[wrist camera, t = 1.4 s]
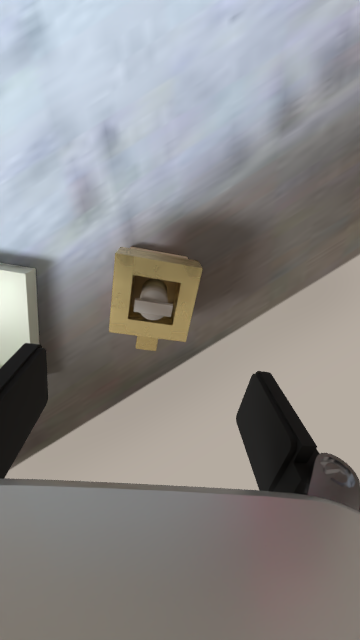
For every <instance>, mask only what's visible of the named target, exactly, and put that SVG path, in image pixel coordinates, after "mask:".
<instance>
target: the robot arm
mask: <svg viewBox="0 0 360 640" xmlns="http://www.w3.org/2000/svg"><path fill="white" fill-rule="evenodd" d="M47 400H48V388H47V363H46V350H45V349H44V348H42V346H41V345H40V344H32V343H25V344H23V345H22V346H21V347H20V348H19V349H18V351H17V352H16V353H15V354H14V355H13V356H12V357H11V358H10V359H9V360H8V361H7V362H6V363H5V364H4V365H3V366H2V367H1V368H0V640H360V482H359V479H358V477H357V475H356V473H355V472H354V471H353V470H352V468H351V467H350V466H349V465H348V464H347V463H345V462H344V461H343V460H341V459H340V458H338V457H336V456H334V455H332V454H328V453H321V454H319V452H318V451H317V449H316V447H317V446H316V444H315V443H314V441H313V439H312V438H311V436H310V435H309V433H308V432H307V430H306V428H305V427H304V425H303V424H302V422H301V420H300V419H299V417H298V416H297V414H296V412H295V411H294V409H293V408H292V406H291V405H290V403H289V401H288V400H287V398H286V397H285V395H284V394H283V392H282V390H281V389H280V387H279V386H278V384H277V382H276V381H275V379H274V378H273V376H272V375H271V373H268V372H261V371H257V372H256V374H253V375H252V377H251V379H250V382H249V385H248V387H247V389H246V392H245V395H244V398H243V400H242V403H241V405H240V408H239V411H238V413H237V416H236V421H237V425H238V428H239V431H240V434H241V437H242V440H243V443H244V445H245V449H246V452H247V455H248V457H249V460H250V464H251V466H252V470H253V472H254V475H255V478H256V481H257V484H258V487H259V490H260V491H257V490H240V489H223V488H205V487H187V486H168V485H167V486H166V485H148V484H128V483H107V482H84V481H63V480H37V479H4V477H5V476H6V474H7V472H8V470H9V469H10V467H11V465H12V463H13V462H14V460H15V458H16V456H17V455H18V453H19V451H20V449H21V448H22V446H23V444H24V442H25V441H26V439H27V437H28V435H29V434H30V432H31V430H32V428H33V427H34V425H35V423H36V421H37V420H38V418H39V416H40V414H41V413H42V411H43V409H44V407H45V406H46V403H47Z"/></svg>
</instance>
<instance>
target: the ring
mask: <svg viewBox="0 0 360 640" xmlns="http://www.w3.org/2000/svg"><path fill="white" fill-rule="evenodd" d="M202 269H203V268H202V267H201V265H200V264H199V262H198V261H197V260H191V259H186V258H180V257H175V256H169V255H163V254H158V253H152V252H147V251H141V250H136V249H130V248H125V247H120V248H119V250H118V251H117V252H116V253H115V264H114V276H113V288H112V300H111V313H110V325H109V332H113V333H121V334H129V335H136V336H137V342H136V349H143V350H152V351H156V348H157V342H158V338H159V339H167V340H174V341H182V342H186V339H187V334H188V330H189V326H190V321H191V317H192V312H193V308H194V304H195V299H196V295H197V291H198V286H199V282H200V278H201V273H202ZM135 275H136V276H142V277H148V278H154V279H160V280H166V281H173V282H177V285H176V291H175V296H174V301H173V308H172V313H171V317H167V316H164V317H162V318H161V319H158V320H149V319H146V318H145V317H143V316H142V315H141V313H139V312H134V307H132V306H131V304H132V296H133V288H134V279H135Z"/></svg>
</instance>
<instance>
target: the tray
mask: <svg viewBox="0 0 360 640" xmlns="http://www.w3.org/2000/svg"><path fill="white" fill-rule="evenodd" d="M25 343H32V344H39V326H38V306H37V286H36V268H29V267H23V266H17V265H11V264H5V263H0V368H1V367H2V366H3V365H4V364H5V363H6V362H7V361H8V360H9V359H10V358H11V357H12V356H13V355H14V354H15V353H16V352H17V351H18V349H19V348H20V347H21V346H22V345H23V344H25Z"/></svg>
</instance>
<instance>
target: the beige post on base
mask: <svg viewBox="0 0 360 640" xmlns="http://www.w3.org/2000/svg"><path fill="white" fill-rule="evenodd" d="M130 249H136V250H141V251H147V252H152V253H158V254H163V255H169V256H175V257H180V258H186V259H188V258H187V257H186V256H180V255H175V254H169V253H164V252H158V251H153V250H147V249H142V248H136V247H130ZM176 285H177V282H173V281H166V280H160V279H154V278H148V277H142V276H136V275H135V279H134V288H133V296H132V304H131V306H132V307H134V312H139V313H141V315H142V316H143V317H145V318H146V319H149V320H158V319H161V318H162V317H164V316H167V317H171V313H172V308H173V301H174V296H175V291H176Z"/></svg>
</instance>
